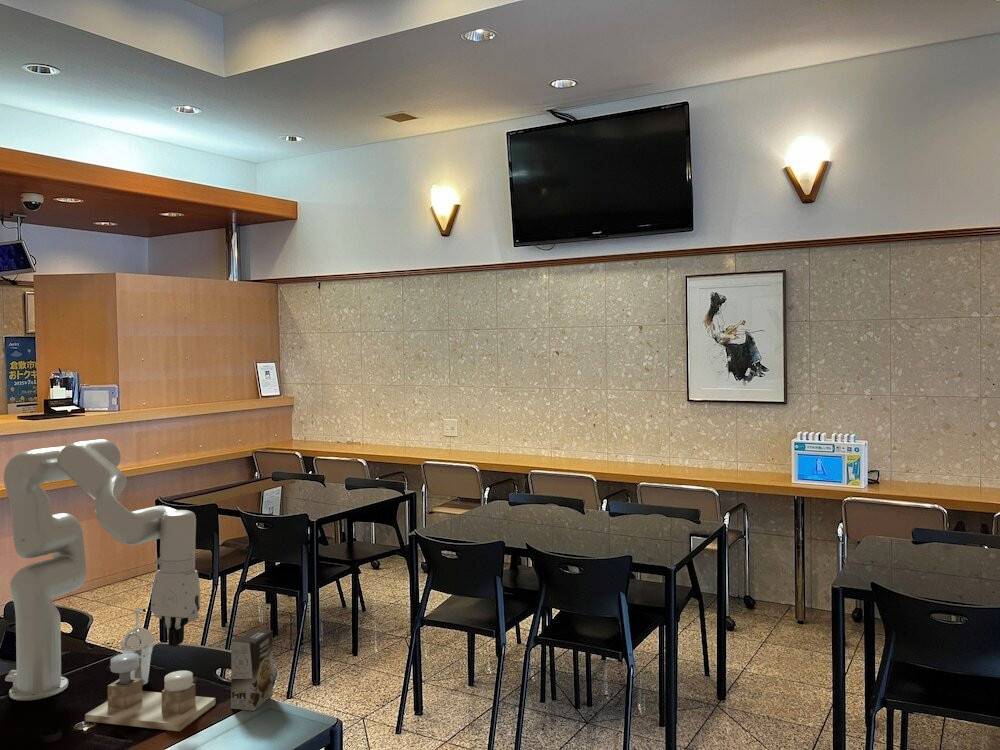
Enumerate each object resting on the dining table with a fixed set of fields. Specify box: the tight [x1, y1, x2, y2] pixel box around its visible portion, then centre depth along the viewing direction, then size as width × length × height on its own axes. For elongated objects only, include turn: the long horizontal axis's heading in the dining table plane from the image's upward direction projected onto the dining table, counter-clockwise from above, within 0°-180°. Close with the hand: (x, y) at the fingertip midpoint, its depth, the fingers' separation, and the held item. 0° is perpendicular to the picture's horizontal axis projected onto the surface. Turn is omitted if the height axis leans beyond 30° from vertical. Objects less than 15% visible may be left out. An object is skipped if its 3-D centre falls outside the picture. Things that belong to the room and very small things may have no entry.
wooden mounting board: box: [84, 678, 216, 732], centre depth 183 cm, size 24×14×6 cm, turn 78°
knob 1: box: [110, 653, 139, 685], centre depth 184 cm, size 6×6×8 cm
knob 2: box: [164, 670, 194, 692], centre depth 181 cm, size 6×6×8 cm
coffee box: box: [230, 628, 274, 712], centre depth 188 cm, size 9×6×16 cm
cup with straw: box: [119, 607, 157, 686], centre depth 199 cm, size 8×9×20 cm
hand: (175, 643), depth 181 cm, fingers closed
